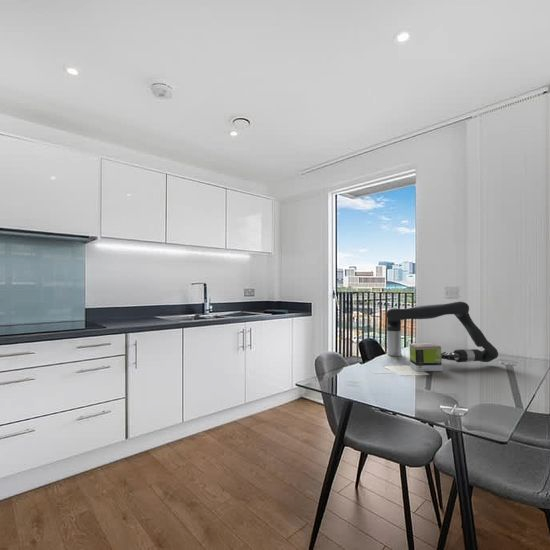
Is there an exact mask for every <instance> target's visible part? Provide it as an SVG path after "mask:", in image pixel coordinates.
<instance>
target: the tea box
mask: <svg viewBox="0 0 550 550" xmlns="http://www.w3.org/2000/svg"><path fill="white" fill-rule="evenodd" d="M441 353H442V347H441V345H439V344H436V343H433V342H430V343H429V342H426V343H423V342H422V343H409V363H410V364H409V365H410V367H411V368H412V369H414V370H415V371H424V372H442V371H443V365H442V363H443V362H442V360H443V359H441Z"/></svg>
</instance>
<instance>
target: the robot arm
mask: <svg viewBox="0 0 550 550" xmlns="http://www.w3.org/2000/svg"><path fill="white" fill-rule="evenodd" d="M469 311H470V305H469V304H468V302H467V303H466V302H464V301H454V302H450V303H440V304H426V305H418V306H413V307H407V308H398V307H390V308H389V309H388V310H387V312H386V319H387V320H386V321H387V323H386V333H387V334H386V339H387V341H386V342H387V343H386V344H387V346H386V347H387V349H386V350H387V355H388V356H391V357H400V356H402V321H405V320H428V319H435V318H438V317H442V316H446V315H454V316H455V317H456V318H457V319H458V321H459V322H460V323H461V324H462V326H463V327H464V328H465V330H466V331H467V333H468V335H469V337H470V338H471V340H472V342H473V344H474V345H475V346H476V347H478V348H483V350H481V349H480V350H479V349H477V348H475V349H473V348H472V349H471V348H470V349H467V348H465V349H454V350H453V351H451V352H450V351H449V352H447V351H442V352H441V359H442V360H447V361H454V362H456V363H472V362H480V363H481V362H482V363H490V362H492V361H493V360H496V359H497V358H498V357H499V351H498V349H497V348H496V347H495V346H494V345H493V344H492V343H491V342H490V341H488V339H487V338H486V336H485V335H484V333H483V332H482V330H481V329H480V328H479V327H478V326H477V325H476V324H475V323H474V320H473V319H472V317H471V315H470V314H469Z"/></svg>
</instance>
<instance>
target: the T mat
mask: <svg viewBox="0 0 550 550" xmlns="http://www.w3.org/2000/svg"><path fill="white" fill-rule="evenodd" d="M384 369H385V370H388V369H390V370H393V371H398V372H401V373H404V374H406V375H412V376H415V375H416V376H429V375H430V373H427V372H426V371H415V370H414V369H412V368H411V367H410V364H408V365H393V366H392V365H391V366H386V365H385V366H384ZM416 376H415V377H416Z"/></svg>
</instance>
